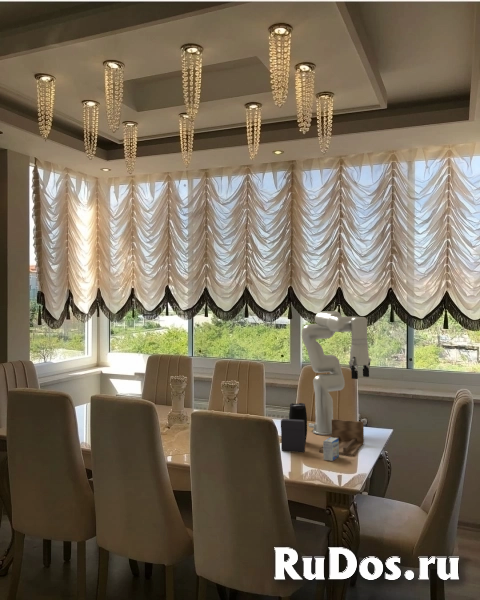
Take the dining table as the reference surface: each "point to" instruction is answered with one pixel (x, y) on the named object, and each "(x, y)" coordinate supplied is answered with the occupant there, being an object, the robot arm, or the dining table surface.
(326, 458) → the medicine box
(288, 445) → the calculator
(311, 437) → the dining table surface
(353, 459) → the dining table surface
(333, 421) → the book rack
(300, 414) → the portable speaker
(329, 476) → the dining table surface
